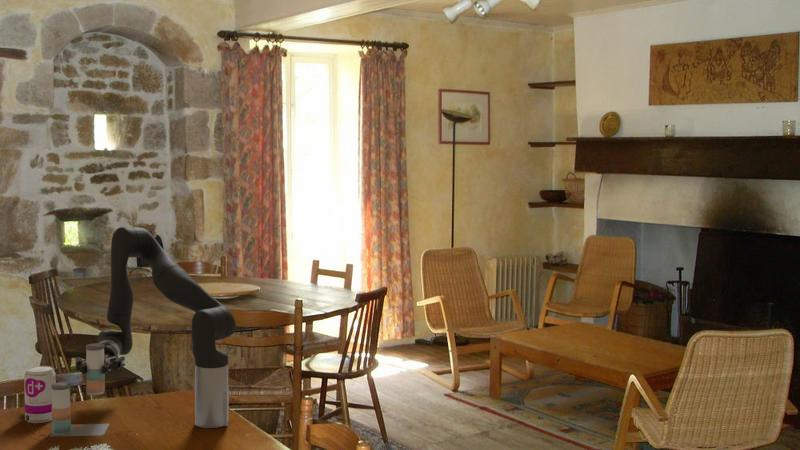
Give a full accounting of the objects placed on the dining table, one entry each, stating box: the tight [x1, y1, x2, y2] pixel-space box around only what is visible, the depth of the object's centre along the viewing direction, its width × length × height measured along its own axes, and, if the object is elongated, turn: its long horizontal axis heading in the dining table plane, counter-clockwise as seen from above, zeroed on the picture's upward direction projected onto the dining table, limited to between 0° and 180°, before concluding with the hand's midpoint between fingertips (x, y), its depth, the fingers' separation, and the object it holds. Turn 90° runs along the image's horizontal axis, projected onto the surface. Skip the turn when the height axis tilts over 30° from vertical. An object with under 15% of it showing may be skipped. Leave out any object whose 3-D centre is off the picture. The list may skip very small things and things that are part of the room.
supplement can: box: [23, 365, 56, 424], centre depth 259 cm, size 8×8×15 cm
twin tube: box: [51, 381, 72, 435], centre depth 247 cm, size 5×5×13 cm
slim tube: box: [85, 342, 106, 396], centre depth 251 cm, size 5×5×13 cm
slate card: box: [48, 423, 110, 438], centre depth 251 cm, size 14×10×1 cm
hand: (93, 370), depth 248 cm, fingers closed on slim tube, 4 cm apart
